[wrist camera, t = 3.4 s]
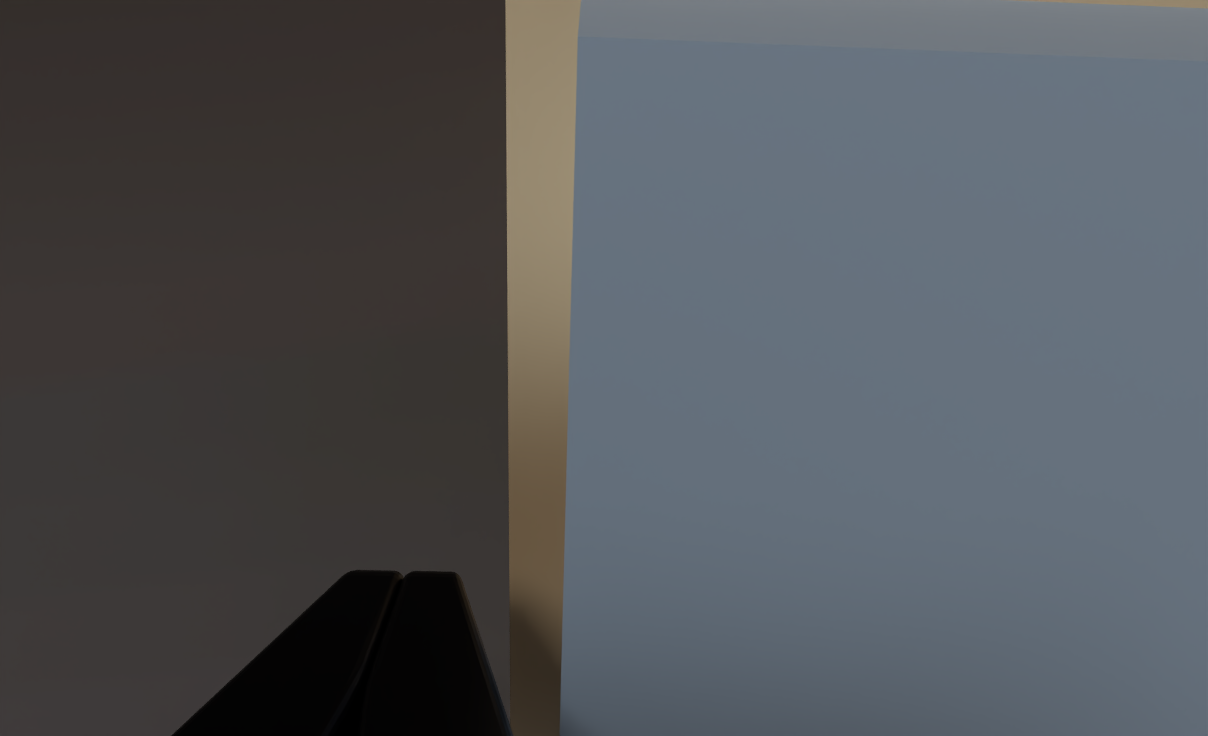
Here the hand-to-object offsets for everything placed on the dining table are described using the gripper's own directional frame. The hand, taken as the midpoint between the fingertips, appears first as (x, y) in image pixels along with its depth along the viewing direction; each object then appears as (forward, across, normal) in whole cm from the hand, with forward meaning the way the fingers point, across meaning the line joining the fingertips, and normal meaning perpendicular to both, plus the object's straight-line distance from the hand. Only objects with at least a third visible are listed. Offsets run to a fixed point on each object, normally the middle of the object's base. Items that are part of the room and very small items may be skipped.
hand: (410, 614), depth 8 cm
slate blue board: (+1, -4, 0) cm, 4 cm away
